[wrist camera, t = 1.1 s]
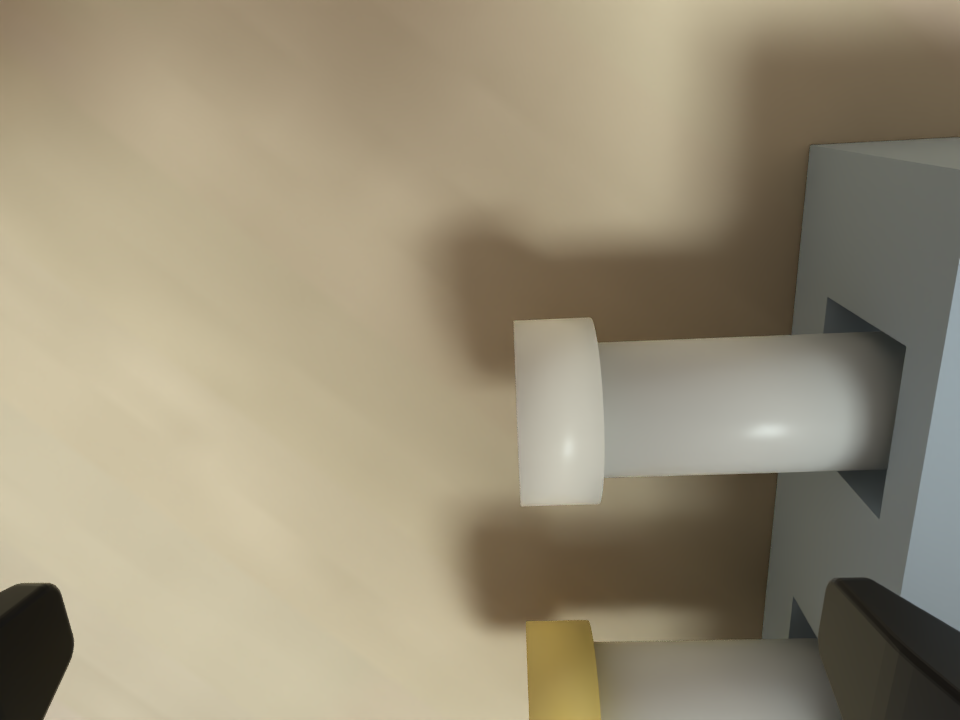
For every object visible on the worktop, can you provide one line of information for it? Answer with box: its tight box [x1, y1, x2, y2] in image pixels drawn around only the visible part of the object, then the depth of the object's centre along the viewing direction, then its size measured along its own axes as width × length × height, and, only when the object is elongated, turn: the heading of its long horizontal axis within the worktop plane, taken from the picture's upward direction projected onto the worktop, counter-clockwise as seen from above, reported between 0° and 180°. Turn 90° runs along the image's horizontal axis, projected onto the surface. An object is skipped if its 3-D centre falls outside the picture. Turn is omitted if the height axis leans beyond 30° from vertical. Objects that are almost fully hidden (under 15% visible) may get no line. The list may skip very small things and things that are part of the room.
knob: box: [514, 317, 906, 506], centre depth 17 cm, size 4×9×4 cm, turn 93°
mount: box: [762, 137, 960, 639], centre depth 19 cm, size 20×6×7 cm, turn 3°
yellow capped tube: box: [526, 620, 843, 720], centre depth 20 cm, size 4×9×4 cm, turn 93°
